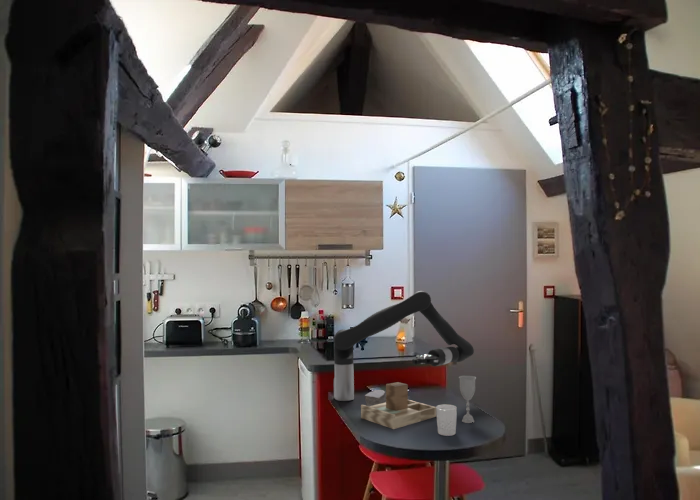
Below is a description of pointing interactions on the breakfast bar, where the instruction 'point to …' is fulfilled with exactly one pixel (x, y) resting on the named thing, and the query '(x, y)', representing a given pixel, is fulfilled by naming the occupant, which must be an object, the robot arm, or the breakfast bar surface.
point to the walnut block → (396, 396)
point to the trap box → (398, 414)
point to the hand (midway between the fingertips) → (413, 362)
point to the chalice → (467, 394)
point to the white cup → (446, 419)
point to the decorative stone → (375, 397)
